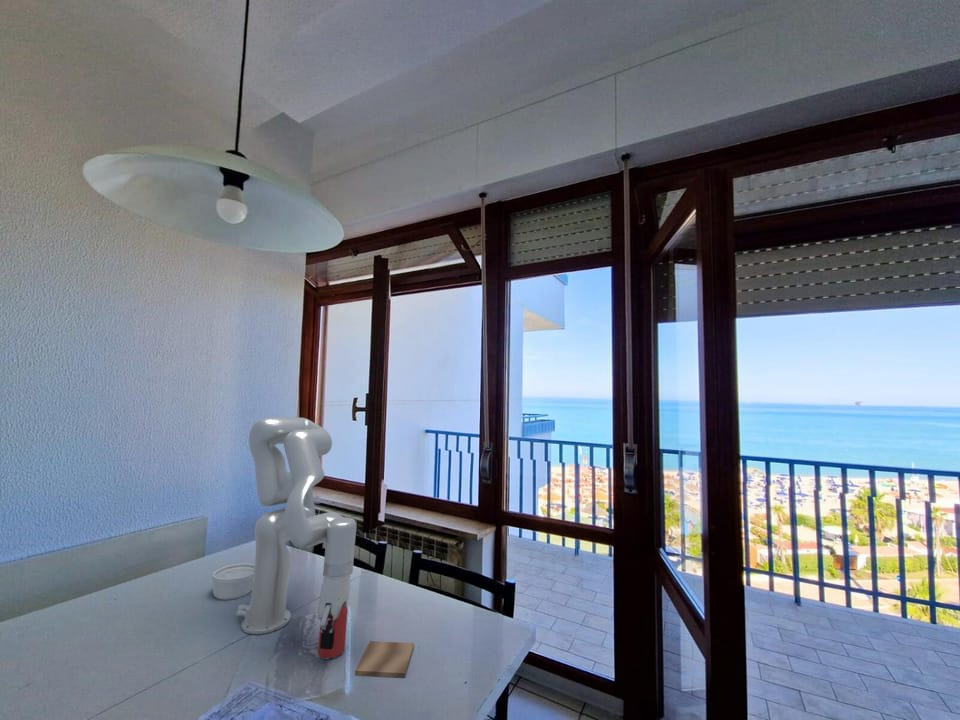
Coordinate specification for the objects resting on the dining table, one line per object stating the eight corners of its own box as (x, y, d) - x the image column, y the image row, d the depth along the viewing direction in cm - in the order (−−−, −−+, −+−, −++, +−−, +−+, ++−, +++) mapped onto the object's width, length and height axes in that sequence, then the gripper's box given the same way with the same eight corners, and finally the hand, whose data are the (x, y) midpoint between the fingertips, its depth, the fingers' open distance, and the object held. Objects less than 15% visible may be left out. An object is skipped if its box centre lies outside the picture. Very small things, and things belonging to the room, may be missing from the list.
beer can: (335, 662, 96) (339, 611, 97) (311, 658, 97) (316, 607, 98) (349, 647, 102) (353, 599, 104) (327, 643, 103) (331, 595, 105)
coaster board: (354, 675, 91) (355, 670, 91) (369, 644, 103) (370, 641, 103) (404, 677, 91) (404, 673, 91) (413, 647, 103) (413, 643, 103)
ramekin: (263, 591, 131) (266, 569, 132) (221, 606, 120) (224, 582, 121) (244, 580, 138) (246, 560, 139) (202, 594, 127) (205, 572, 128)
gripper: (337, 554, 111) (331, 621, 108) (310, 580, 94) (302, 660, 91) (362, 556, 111) (357, 622, 108) (340, 582, 94) (333, 662, 91)
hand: (332, 639), depth 100 cm, fingers closed on beer can, 6 cm apart
